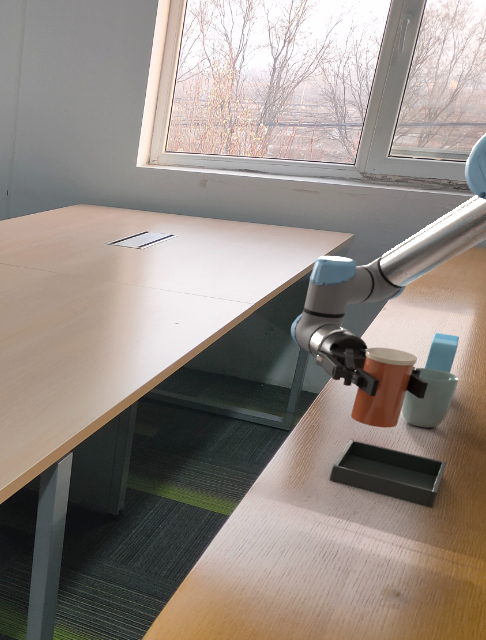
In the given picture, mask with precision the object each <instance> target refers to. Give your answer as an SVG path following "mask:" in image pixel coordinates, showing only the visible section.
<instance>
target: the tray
mask: <svg viewBox="0 0 486 640" xmlns="http://www.w3.org/2000/svg"><path fill="white" fill-rule="evenodd" d="M447 464H448V462H447V461H442V460H438V459H435V458H430V457H425V456H422V455H417V454H413V453H409V452H405V451H401V450H397V449H393V448H388V447H384V446H379V445H376V444H371V443H367V442H364V441H359V440H354V439H349V441H348V443H347V444H346V446H345V447H344V449H343V450H342V452H341V453H340V455H339V456H338V458H337V459H336V460H335V462H334V464H333V465H332V468H331V473H330V477H329V481H331V482H334V483H337V484H340V485H345V486H349V487H352V488H356V489H359V490H363V491H368V492H371V493H375V494H379V495H382V496H386V497H389V498H393V499H398V500H401V501H405V502H409V503H412V504H416V505H420V506H424V507H426V508H433V507H434V503H435V501H436V499H437V498H436V497H437V494H438V491H439V489H440V485H441V483H442V479H443V476H444V473H445V470H446V467H447Z"/></svg>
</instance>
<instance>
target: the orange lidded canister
mask: <svg viewBox="0 0 486 640" xmlns="http://www.w3.org/2000/svg"><path fill="white" fill-rule="evenodd" d="M365 355H366V359H365V363H364V367H363V370H364V371H366V372H367V373H369V374H370V375H371V376H373V377H374V378H376V379H377V380H379V383H378V387H377V391H376V394H375V396H370V395H369V394H367V393H366V392H365V391H363V390H362V389H360V388H359V387H358V386H357V390H356V394H355V397H354V402H353V405H352V410H351V414H350V417H351V419H353V420H354V421H356V422H358V423H360V424H364V425H366V426H370V427H376V428H394V427H397V425H398V423H399V419H400V416H401V412H402V405H403V402H404V398H405V394H406V391H407V387H408V384H409V380H410V377H411V373H412V370H413V367H415V365H416V364H417V360H418V357H417V356H416V355H415V354H412V353H410V352H407V351H404V350H399V349H394V348H388V347H370V348H368V349H367V350H366V354H365Z"/></svg>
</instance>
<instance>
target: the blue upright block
mask: <svg viewBox="0 0 486 640" xmlns="http://www.w3.org/2000/svg"><path fill="white" fill-rule="evenodd" d="M459 339H460V336H458V335H453V334H445V333H439V332H434V334H433V338H432V341H431V344H430V348H429V351H428V355H427V359H426V362H425V365H424V368H427V369H435V370H440V371H445V372H448V373H451V370H452V367H453V363H454V361H455V357H456V354H457V350H458V346H459Z"/></svg>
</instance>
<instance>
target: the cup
mask: <svg viewBox="0 0 486 640" xmlns="http://www.w3.org/2000/svg"><path fill="white" fill-rule="evenodd" d="M416 368H417V369H419V370H421V373H420V376H419V378H420V379H422V380H424V381H425V382H427V383H428V385H427V388H426V392H425V395H424V398H423V399H422V398H418V397H416V396H415V395H413V394H412V393H410V392H408V391H406V394H405V398H404V402H403V405H402V409H401V412H402V413H401V414H402V417H403V419H404V420H405V421H406V422H407V423H408V424H410V425H412V426H415V427H420V428H427V429H430V428H431V429H432V428H435V427H438V426H439V425H440V424H442V423H443V421H445V419H446V417H447V415H448V414H449V411H450V408H451V405H452V402H453V399H454V397H455V394H456V390H457V386H458V384H459V378H458V376H456V375H455V374H453V373H451V372H450V373H448V372H445V371H440V370H435V369H427V368H425V367H416Z"/></svg>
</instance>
